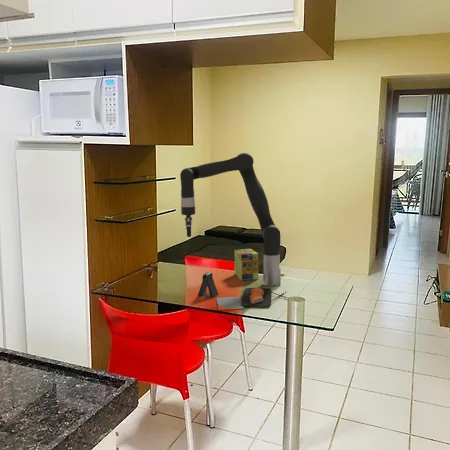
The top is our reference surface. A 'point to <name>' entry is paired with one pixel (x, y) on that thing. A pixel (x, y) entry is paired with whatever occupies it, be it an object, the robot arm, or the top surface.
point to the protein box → (246, 264)
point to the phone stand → (211, 286)
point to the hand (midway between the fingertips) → (189, 235)
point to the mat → (230, 302)
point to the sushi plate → (258, 297)
